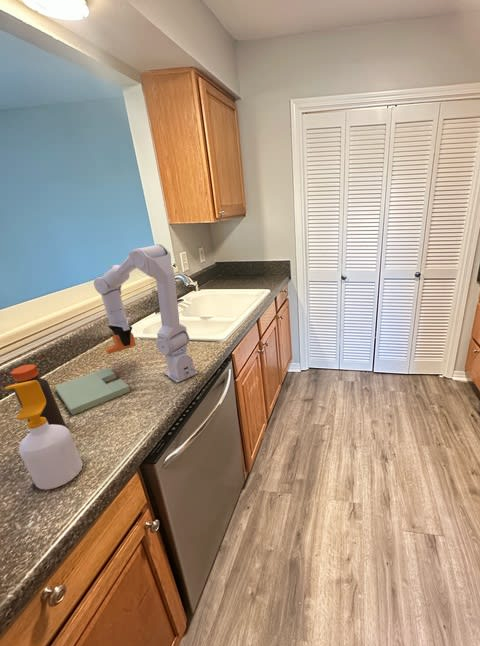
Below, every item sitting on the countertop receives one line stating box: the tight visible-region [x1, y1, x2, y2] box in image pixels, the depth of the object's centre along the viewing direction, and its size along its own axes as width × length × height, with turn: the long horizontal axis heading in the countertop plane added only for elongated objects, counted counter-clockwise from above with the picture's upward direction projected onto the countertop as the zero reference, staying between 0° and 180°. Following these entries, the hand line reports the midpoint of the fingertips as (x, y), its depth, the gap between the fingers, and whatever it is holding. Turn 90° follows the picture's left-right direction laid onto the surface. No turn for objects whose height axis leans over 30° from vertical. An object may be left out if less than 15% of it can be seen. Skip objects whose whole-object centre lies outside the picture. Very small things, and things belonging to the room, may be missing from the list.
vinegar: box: [10, 363, 67, 428], centre depth 84 cm, size 7×7×20 cm
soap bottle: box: [4, 380, 84, 490], centre depth 69 cm, size 9×9×25 cm
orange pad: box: [104, 332, 137, 355], centre depth 119 cm, size 4×10×5 cm, turn 136°
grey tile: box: [54, 367, 131, 416], centre depth 106 cm, size 20×16×2 cm
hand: (125, 343), depth 121 cm, fingers closed on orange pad, 4 cm apart
